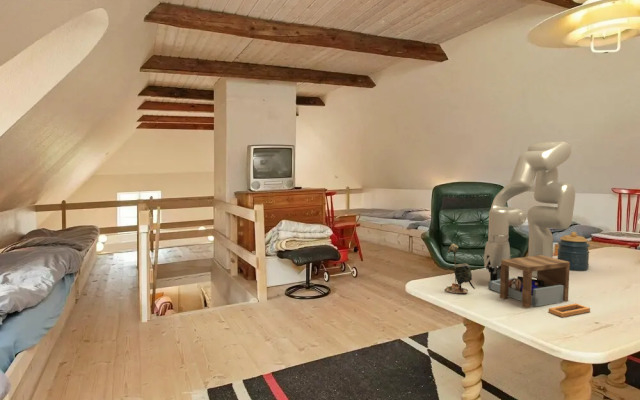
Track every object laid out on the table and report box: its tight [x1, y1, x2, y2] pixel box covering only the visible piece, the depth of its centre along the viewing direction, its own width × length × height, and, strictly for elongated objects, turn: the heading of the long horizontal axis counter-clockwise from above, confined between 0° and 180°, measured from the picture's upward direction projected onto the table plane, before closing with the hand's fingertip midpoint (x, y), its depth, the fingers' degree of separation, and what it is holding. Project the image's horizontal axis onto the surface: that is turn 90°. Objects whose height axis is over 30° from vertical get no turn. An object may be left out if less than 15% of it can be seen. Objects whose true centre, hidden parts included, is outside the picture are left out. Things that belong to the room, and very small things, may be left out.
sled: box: [488, 266, 564, 308], centre depth 148 cm, size 13×26×7 cm, turn 20°
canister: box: [556, 231, 591, 272], centre depth 185 cm, size 13×13×18 cm
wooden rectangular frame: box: [548, 303, 591, 318], centre depth 130 cm, size 13×5×1 cm, turn 110°
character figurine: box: [509, 275, 551, 296], centre depth 144 cm, size 8×7×15 cm
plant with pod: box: [444, 243, 476, 294], centre depth 151 cm, size 8×11×20 cm
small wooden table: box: [499, 255, 570, 309], centre depth 142 cm, size 20×12×15 cm, turn 110°
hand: (497, 281), depth 159 cm, fingers closed on sled, 3 cm apart
